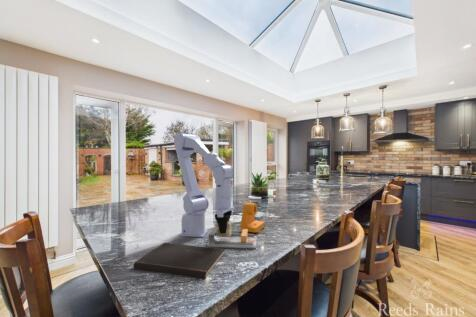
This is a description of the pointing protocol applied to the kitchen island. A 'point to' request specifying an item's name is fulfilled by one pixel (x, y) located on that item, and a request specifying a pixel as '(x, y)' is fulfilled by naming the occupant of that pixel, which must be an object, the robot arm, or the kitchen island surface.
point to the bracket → (250, 218)
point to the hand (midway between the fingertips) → (223, 231)
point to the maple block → (228, 230)
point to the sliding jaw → (244, 235)
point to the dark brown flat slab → (180, 260)
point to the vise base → (231, 240)
